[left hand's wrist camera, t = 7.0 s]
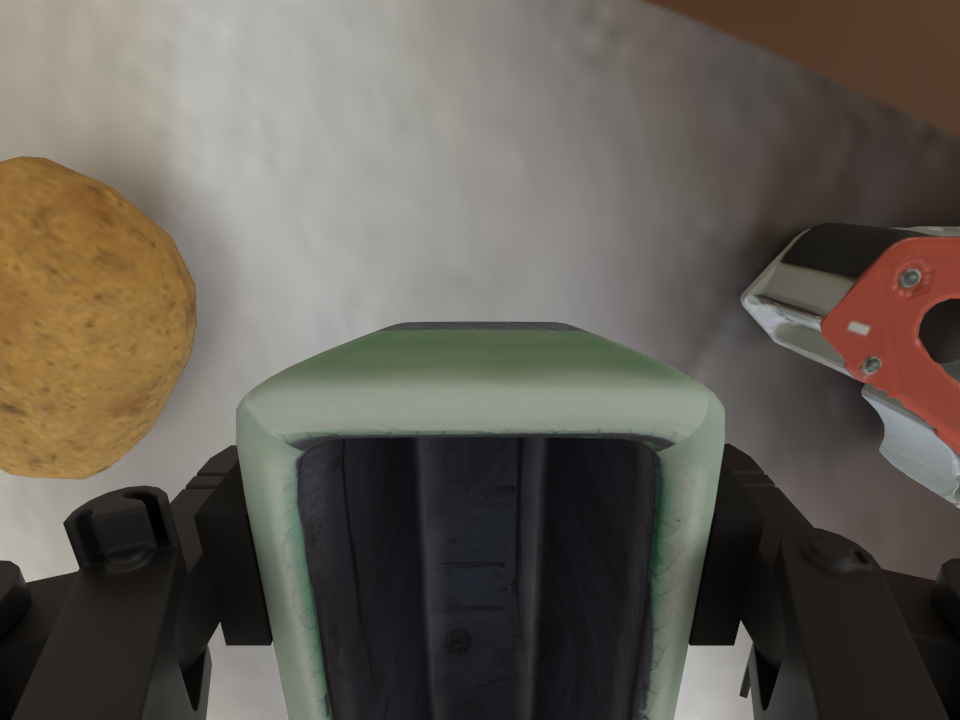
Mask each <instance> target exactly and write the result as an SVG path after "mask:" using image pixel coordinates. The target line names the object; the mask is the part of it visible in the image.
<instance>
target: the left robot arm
mask: <svg viewBox="0 0 960 720" xmlns="http://www.w3.org/2000/svg"><path fill="white" fill-rule="evenodd" d="M63 524H64V527H65V530H66V532H67V535H68V538H69V540H70V543H71V546H72V548H73V551H74V554H75V557H76V559H77V562H78V565H79V567H80V568H79V571H77V572H74V573H69V574H65V575H60V576H55V577H51V578H46V579H41V580H37V581H32V582H28V583H26V582H25V580H24V578H23V575H22V573H21V571H20V568H19V566H17V565H15V564H14V563H12V562H11V561H0V720H206V714H207V705H208V695H209V686H210V677H211V667H212V662H211V656H210V651H209V647H208V642H209V640H210V639H211V637H212V635H213V633H214V631H215V630H216V628H217V626H218V624H219V622H221V626H222V630H223V634H224V638H225V642H226V645H271V643H272V641H273V638H272V633H271V628H270V623H269V618H268V613H267V608H266V603H265V598H264V593H263V588H262V583H261V578H260V573H259V568H258V562H257V557H256V552H255V547H254V542H253V537H252V532H251V527H250V522H249V517H248V512H247V505H246V499H245V493H244V487H243V481H242V474H241V468H240V462H239V456H238V450H237V445H231V446H230V447H228V448H226V449H225V450H223V451H221V452H220V453H218V454H217V455H215V456H213V457H212V458H210V459H209V460H208V462H207V463H206V464H205V465H204V466H203V467H202V468H201V469H200V471H199V472H198V473H197V476H194V477H193V478H192V480H191V481H190V482H189V483H188V484H187V485H186V489H183V490H182V491H181V492H180V493H179V494H178V495H177V496H176V498H175V499H174V500H173V501H172V502H171V503H170V504H169V500H168V496H167V493H165V492H164V491H163V490H161V489H160V488H157V487H151V486H136V487H127V488H123V489H119V490H116V491H112V492H108V493H106V494H104V495H101V496H99V497H97V498H95V499H92V500H90V501H88V502H87V503H85V504H84V505H82V506H81V507H79V508H78V509H76V510H75V511H73V512H72V513H71V515H70V516H69V517H68V518H67V519H66V520H65V521H64V523H63ZM740 620H741V621H742V623H743V625H744V626H745V628H746V630H747V632H748V634H749V635H750V637H751V639H752V641H753V644H752V647H751V651H750V655H749V659H748V662H747V666H746V670H745V673H744V677H743V681H742V684H741V690H740V696H742V697H745V698H747V696H748V692H749V689H750V686H751V694H752V703H753V712H754V720H960V558H958V559H950V560H949V561H947V562H946V563H944V564H943V565H942V567H941V569H940V572H939V574H938V576H937V579H936V581H934V580H929V579H925V578H920V577H915V576H911V575H906V574H902V573H897V572H892V571H888V570H884V569H881V567H880V566H879V565H878V563H877V562H876V561H875V559H874V558H873V556H872V555H871V554H869V553H868V552H867V551H866V550H864V549H863V548H862V547H860V546H859V545H858V544H857V543H855V542H853V541H851V540H849V539H847V538H845V537H843V536H841V535H839V534H836V533H832V532H829V531H826V530H823V529H818V528H814V527H813V526H812V525H811V524H810V523H809V522H808V520H807V519H806V518H805V517H804V516H803V515H802V514H801V513H800V512H799V510H798V509H797V508H796V507H795V506H794V505H793V504H792V503H791V501H790V500H789V499H788V498H787V497H786V496H785V495H784V494H783V493H782V491H781V490H780V489H779V488H776V487H775V484H774V482H773V481H772V480H771V479H770V478H769V477H768V476H767V475H764V471H763V470H762V469H761V468H760V467H759V466H758V465H757V463H756V462H755V461H754V460H753V459H752V458H751V457H750V456H748V455H747V454H745V453H744V452H742V451H740V450H739V449H737V448H735V447H734V446H732V445H731V444H724V450H723V456H722V463H721V469H720V475H719V482H718V488H717V494H716V501H715V507H714V513H713V519H712V524H711V529H710V534H709V540H708V545H707V550H706V555H705V560H704V566H703V571H702V576H701V581H700V587H699V592H698V597H697V602H696V607H695V613H694V618H693V623H692V628H691V633H690V638H689V645H734V643H735V639H736V636H737V632H738V628H739V624H740Z"/></svg>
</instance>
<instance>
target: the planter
mask: <svg viewBox="0 0 960 720" xmlns="http://www.w3.org/2000/svg"><path fill="white" fill-rule="evenodd" d="M236 443H237V450H238V456H239V462H240V468H241V474H242V481H243V487H244V493H245V499H246V505H247V512H248V517H249V522H250V527H251V532H252V537H253V542H254V547H255V552H256V557H257V562H258V568H259V573H260V578H261V583H262V588H263V593H264V598H265V603H266V608H267V613H268V618H269V623H270V628H271V633H272V638H273V643H274V648H275V653H276V658H277V663H278V667H279V672H280V677H281V682H282V687H283V692H284V697H285V702H286V707H287V711H288V716H289V720H673V719H674V714H675V709H676V704H677V699H678V694H679V689H680V684H681V679H682V674H683V669H684V664H685V659H686V654H687V649H688V644H689V638H690V633H691V628H692V623H693V618H694V613H695V607H696V602H697V597H698V592H699V587H700V581H701V576H702V571H703V566H704V560H705V555H706V550H707V545H708V540H709V534H710V529H711V524H712V519H713V513H714V507H715V501H716V494H717V488H718V482H719V475H720V469H721V463H722V456H723V450H724V444H725V409H724V407H723V405H722V403H721V401H720V400H719V399H718V398H717V396H716V395H715V394H714V393H713V392H712V391H711V390H709V389H708V388H707V387H706V386H704V385H703V384H701V383H700V382H698V381H696V380H695V379H693V378H692V377H690V376H688V375H686V374H684V373H682V372H680V371H679V370H677V369H675V368H673V367H671V366H669V365H667V364H665V363H662V362H660V361H658V360H656V359H654V358H651V357H649V356H647V355H645V354H642V353H640V352H638V351H635V350H633V349H630V348H628V347H626V346H623V345H621V344H618V343H616V342H613V341H611V340H608V339H606V338H603V337H601V336H598V335H596V334H593V333H590V332H587V331H585V330H582V329H579V328H576V327H574V326H571V325H567V324H563V323H556V322H409V323H401V324H396V325H392V326H389V327H387V328H384V329H381V330H378V331H376V332H373V333H370V334H368V335H365V336H362V337H360V338H357V339H355V340H352V341H350V342H347V343H344V344H342V345H340V346H337V347H335V348H332V349H330V350H327V351H325V352H323V353H320V354H318V355H316V356H313V357H311V358H309V359H307V360H304V361H302V362H300V363H298V364H295V365H293V366H291V367H289V368H287V369H285V370H283V371H281V372H280V373H278V374H276V375H274V376H272V377H270V378H269V379H267V380H265V381H264V382H262V383H261V384H259V385H258V386H256V387H255V388H254V389H253V390H251V391H250V392H249V393H248V394H247V395H246V396H245V397H244V398H243V400H242V401H241V402H240V404H239V406H238V408H237V410H236Z"/></svg>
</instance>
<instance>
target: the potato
mask: <svg viewBox="0 0 960 720" xmlns="http://www.w3.org/2000/svg"><path fill="white" fill-rule="evenodd" d="M195 328H196V298H195V284H194V282H193V280H192V277H191V275H190V273H189V271H188V269H187V267H186V265H185V263H184V261H183V259H182V257H181V255H180V253H179V251H178V249H177V246H176V244H175V242H174V240H173V238H172V237H171V236H170V235H169V234H168V233H166V232H165V231H164V230H163V229H162V228H160V227H159V226H158V225H157V224H156V223H154V222H153V221H152V220H151V219H150V218H148V217H147V216H146V215H145V214H144V213H142V212H141V211H140V210H139V209H138V208H136V207H135V206H134V205H133V204H132V203H130V202H129V201H128V200H127V199H125V198H124V197H123V196H122V195H120V194H119V193H118V192H117V191H115V190H114V189H113V188H112V187H110V186H107V185H105V184H103V183H100V182H98V181H96V180H94V179H91V178H89V177H87V176H85V175H82V174H80V173H78V172H76V171H73V170H71V169H69V168H66V167H64V166H62V165H60V164H57V163H55V162H53V161H51V160H48V159H46V158H37V157H23V156H22V157H18V158H14V159H10V160H6V161H2V162H0V469H2V470H4V471H6V472H7V473H9V474H13V475H20V476H27V477H36V478H61V479H85V478H88V477H90V476H93V475H95V474H97V473H100V472H102V471H105V470H107V469H108V468H109V467H111V466H112V465H113V464H114V463H115V462H117V461H118V460H119V459H120V458H121V457H123V456H124V455H125V454H126V453H127V452H129V451H130V450H131V449H132V448H133V447H134V446H135V445H136V444H137V443H138V442H139V441H140V440H141V439H142V438H143V437H144V436H145V435H146V434H147V433H148V432H149V431H150V430H151V428H152V426H153V425H154V423H155V421H156V419H157V418H158V416H159V414H160V413H161V411H162V409H163V408H164V406H165V404H166V402H167V400H168V398H169V396H170V394H171V392H172V390H173V388H174V386H175V384H176V383H177V381H178V379H179V377H180V375H181V373H182V371H183V369H184V368H185V366H186V364H187V362H188V360H189V358H190V356H191V350H192V345H193V339H194V334H195Z"/></svg>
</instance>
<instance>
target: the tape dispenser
mask: <svg viewBox="0 0 960 720" xmlns="http://www.w3.org/2000/svg"><path fill="white" fill-rule="evenodd" d="M948 299H960V227H937V226H918V227H910V228H881V227H870V226H861V225H851V224H840V223H824V224H821V225H818V226H814V227H813V228H812V229H808V230H806V231H804V232H802V233H800V234H799V235H798V236H797V237H795V238H794V239H793V240H792V241H791V243H790V244H789V245H788V246H787V247H786V248H785V249H784V250H783V251H782V252H781V253H780V254H779V255H778V256H777V257H776V258H775V259H774V260H773V261H772V262H771V263H770V264H769V266H768V267H767V268H766V269H765V270H764V271H763V272H762V273H761V274H760V275H759V276H758V277H757V278H756V280H755V281H754V282H753V283H752V284H751V285H750V286H749V287H748V288H747V289H746V290H745V291H744V292H743V294H742V295H741V298H740V301H741V303H742V305H743V307H744V308H745V309H746V310H747V311H748V312H749V313H750V314H751V315H752V317H753V318H754V319H755V320H756V321H757V322H758V323H759V325H760V326H761V327H762V328H763V329H764V330H765V331H766V332H767V333H768V334H769V336H770V337H771V338H772V340H773V341H774V342H776V343H778V344H779V345H782V346H784V347H787V348H789V349H791V350H793V351H795V352H797V353H799V354H801V355H803V356H805V357H807V358H810V359H812V360H815V361H817V362H819V363H822V364H824V365H826V366H828V367H831V368H833V369H835V370H837V371H839V372H842V373H844V374H846V375H848V376H850V377H852V378H854V379H856V380H858V381H861V382H863V383H866V384H865V385H864V387H863V388H862V392H861V395H862V396H863V397H864V398H865V399H866V400H867V401H868V402H869V403H870V404H871V405H872V406H873V407H874V408H875V409H876V411H877V412H878V413H879V415H880V417H881V419H882V421H883V423H884V427H885V436H884V439H883V441H882V444H881V446H880V448H879V451H880V452H881V453H882V454H883V455H884V456H885V457H886V458H887V459H888V460H889V461H890V462H891V463H892V464H893V465H894V466H895V467H896V468H898V469H899V470H901V471H902V472H904V473H905V474H907V475H908V476H909V477H911V478H913V479H914V480H916V481H917V482H919V483H921V484H922V485H924V486H925V487H927V488H929V489H930V490H932V491H934V492H935V493H937V494H938V495H940V496H942V497H943V498H945V499H946V500H948V501H950V502H951V503H953V504H954V505H955V506H956V507H958V508H960V358H959V359H957V360H955V361H954V362H949V363H945V364H938V363H936V362H934V361H933V360H932V359H931V357H930V356H929V354H928V352H927V350H926V349H925V347H924V345H923V344H922V342H921V340H920V339H919V337H918V336H919V329H920V324H921V322H922V320H923V317H924V315H925V314H926V313H927V312H928V311H929V310H930V309H931V308H932V307H933V306H935V305H936V304H938V303H940V302H942V301H945V300H948Z"/></svg>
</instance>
